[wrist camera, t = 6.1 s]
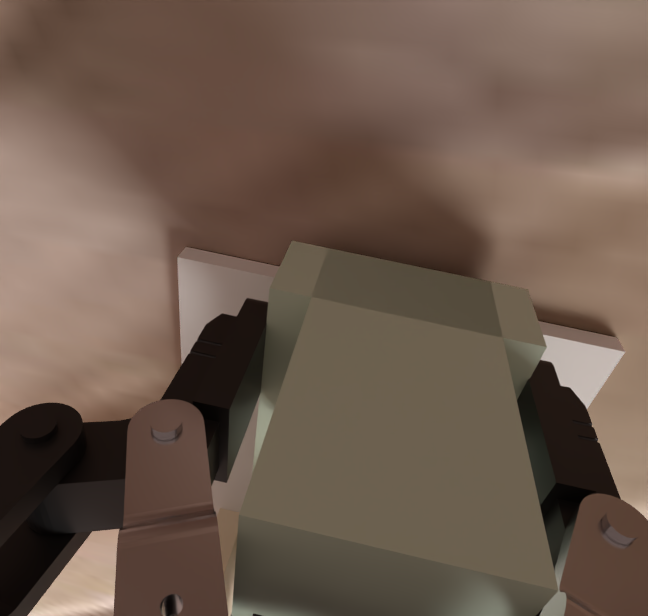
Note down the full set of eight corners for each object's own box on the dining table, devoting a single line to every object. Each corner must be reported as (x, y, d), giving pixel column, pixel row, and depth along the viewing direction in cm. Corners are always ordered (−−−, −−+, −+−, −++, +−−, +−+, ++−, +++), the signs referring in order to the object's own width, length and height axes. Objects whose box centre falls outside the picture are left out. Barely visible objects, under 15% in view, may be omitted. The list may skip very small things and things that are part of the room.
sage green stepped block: (292, 240, 12) (169, 498, 6) (528, 289, 12) (633, 608, 6) (256, 539, 20) (190, 771, 14) (395, 572, 20) (384, 823, 14)
